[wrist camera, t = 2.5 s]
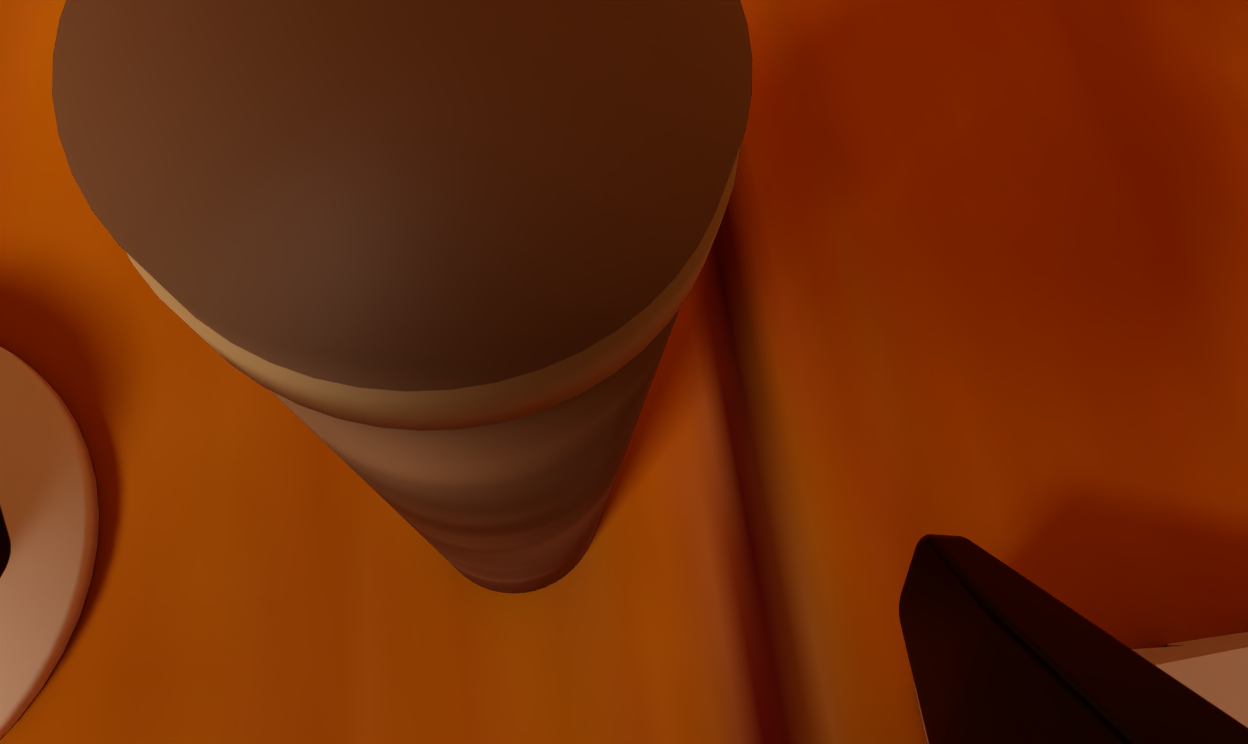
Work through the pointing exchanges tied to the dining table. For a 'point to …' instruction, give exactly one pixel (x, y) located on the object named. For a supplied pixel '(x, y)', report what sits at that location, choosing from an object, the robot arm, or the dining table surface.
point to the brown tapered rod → (424, 226)
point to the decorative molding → (1206, 670)
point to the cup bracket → (40, 532)
